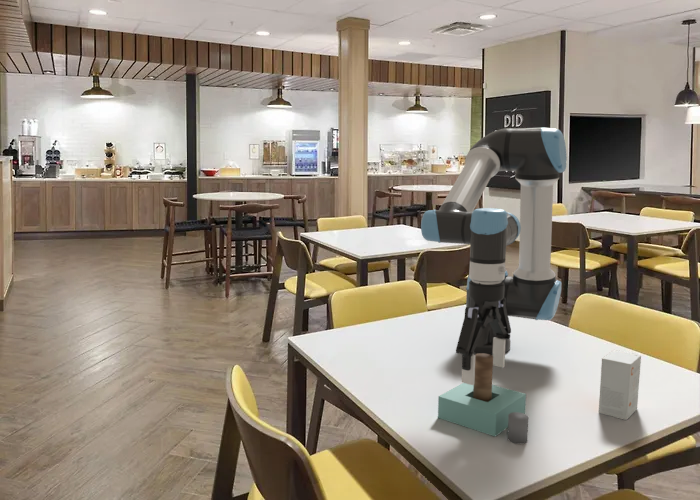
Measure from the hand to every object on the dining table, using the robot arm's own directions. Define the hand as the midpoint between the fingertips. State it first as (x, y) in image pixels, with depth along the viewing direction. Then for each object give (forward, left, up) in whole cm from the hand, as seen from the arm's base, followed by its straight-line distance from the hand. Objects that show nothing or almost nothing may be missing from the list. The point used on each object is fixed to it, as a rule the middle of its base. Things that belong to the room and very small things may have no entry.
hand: (483, 374), depth 138 cm
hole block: (0, 0, -10) cm, 10 cm away
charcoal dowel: (+11, -5, -10) cm, 16 cm away
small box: (+22, +23, -10) cm, 33 cm away
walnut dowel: (0, 0, -10) cm, 10 cm away
